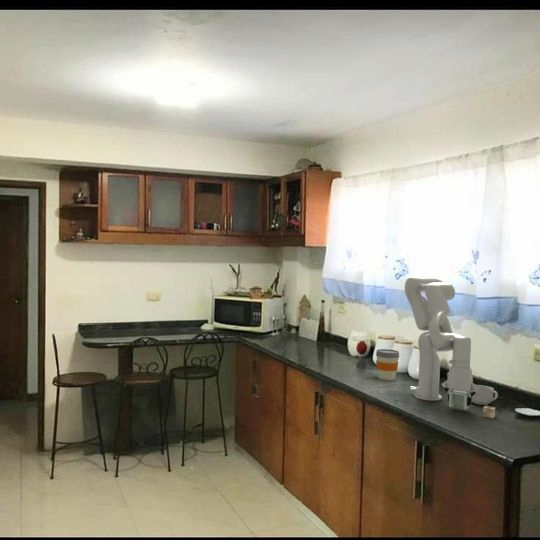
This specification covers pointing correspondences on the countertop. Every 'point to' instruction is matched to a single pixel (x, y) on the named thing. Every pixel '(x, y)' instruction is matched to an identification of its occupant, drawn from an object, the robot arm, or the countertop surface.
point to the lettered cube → (489, 412)
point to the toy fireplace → (458, 398)
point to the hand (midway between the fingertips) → (459, 403)
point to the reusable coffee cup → (387, 363)
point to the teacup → (484, 395)
